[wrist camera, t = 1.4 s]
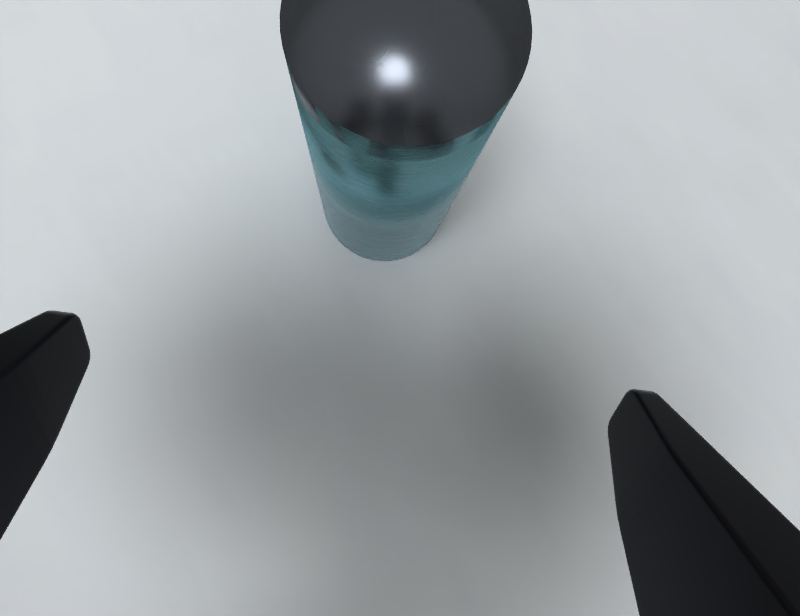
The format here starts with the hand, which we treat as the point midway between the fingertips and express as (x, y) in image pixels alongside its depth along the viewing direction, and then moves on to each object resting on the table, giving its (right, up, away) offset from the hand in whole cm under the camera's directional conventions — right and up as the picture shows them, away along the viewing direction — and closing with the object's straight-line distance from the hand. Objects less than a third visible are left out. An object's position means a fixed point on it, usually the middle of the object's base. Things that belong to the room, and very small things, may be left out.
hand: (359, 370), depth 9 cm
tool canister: (0, +5, +14) cm, 15 cm away
